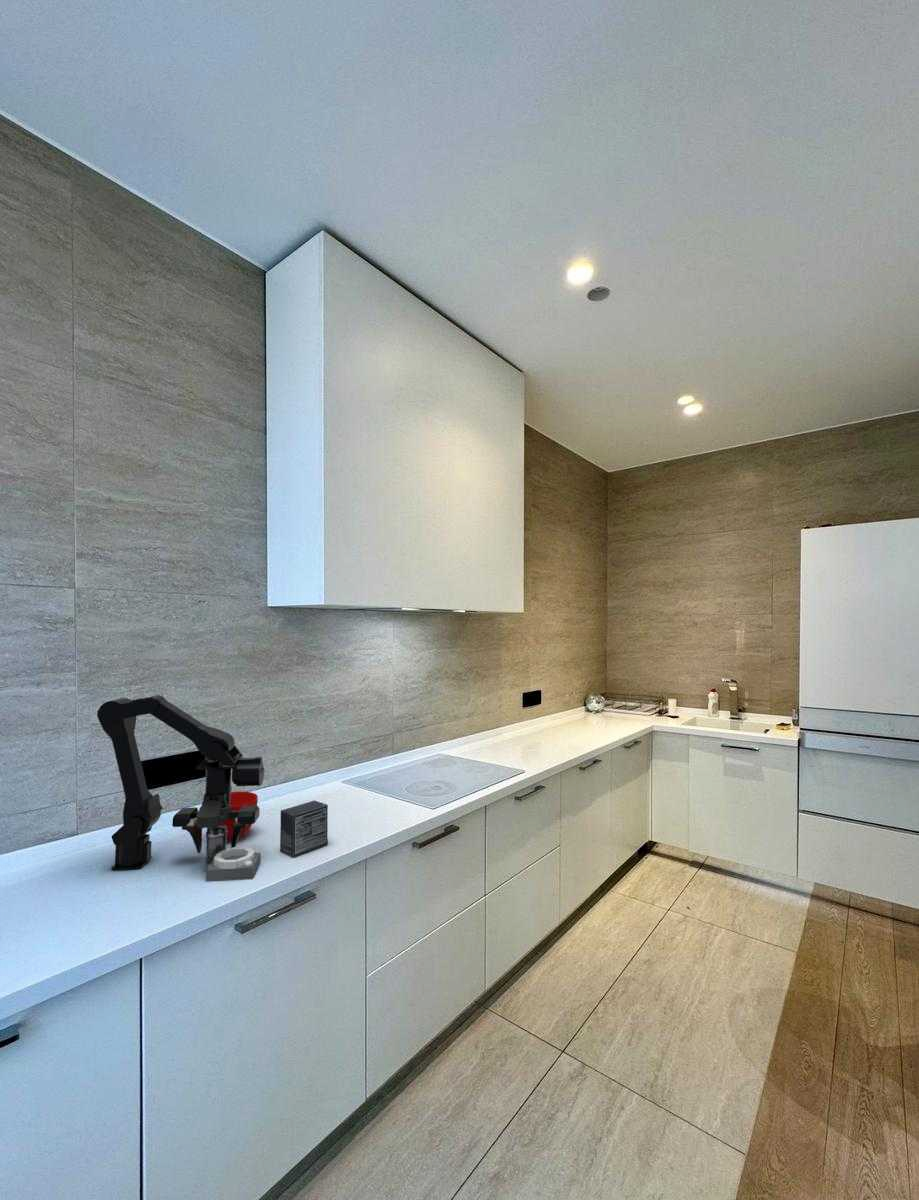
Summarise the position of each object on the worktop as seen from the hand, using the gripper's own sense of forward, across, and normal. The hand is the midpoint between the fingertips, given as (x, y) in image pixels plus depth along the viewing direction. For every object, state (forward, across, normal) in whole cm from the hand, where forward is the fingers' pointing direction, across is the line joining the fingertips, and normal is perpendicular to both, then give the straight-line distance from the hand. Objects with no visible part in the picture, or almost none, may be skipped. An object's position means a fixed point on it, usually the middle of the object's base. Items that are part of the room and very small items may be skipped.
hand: (216, 851), depth 131 cm
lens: (+2, 0, 0) cm, 2 cm away
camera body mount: (+2, +6, -7) cm, 9 cm away
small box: (+2, +20, +5) cm, 21 cm away
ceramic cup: (+2, 0, +17) cm, 17 cm away
